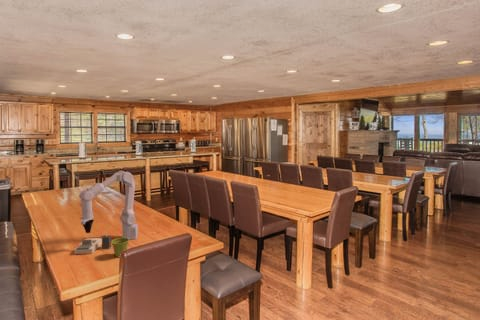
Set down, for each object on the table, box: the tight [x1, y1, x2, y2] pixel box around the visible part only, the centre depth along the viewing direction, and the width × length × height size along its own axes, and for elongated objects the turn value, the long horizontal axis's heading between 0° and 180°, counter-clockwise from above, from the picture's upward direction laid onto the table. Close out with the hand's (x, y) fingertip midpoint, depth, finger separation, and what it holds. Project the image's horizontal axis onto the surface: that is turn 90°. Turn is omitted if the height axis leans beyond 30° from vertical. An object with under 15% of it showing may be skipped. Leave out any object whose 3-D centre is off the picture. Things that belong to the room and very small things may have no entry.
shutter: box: [76, 238, 92, 250], centre depth 181 cm, size 6×7×3 cm
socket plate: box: [73, 237, 102, 255], centre depth 188 cm, size 10×18×2 cm, turn 6°
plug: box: [101, 233, 112, 250], centre depth 187 cm, size 4×4×8 cm
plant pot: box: [111, 237, 130, 258], centre depth 177 cm, size 9×9×9 cm
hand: (88, 232), depth 186 cm, fingers closed
